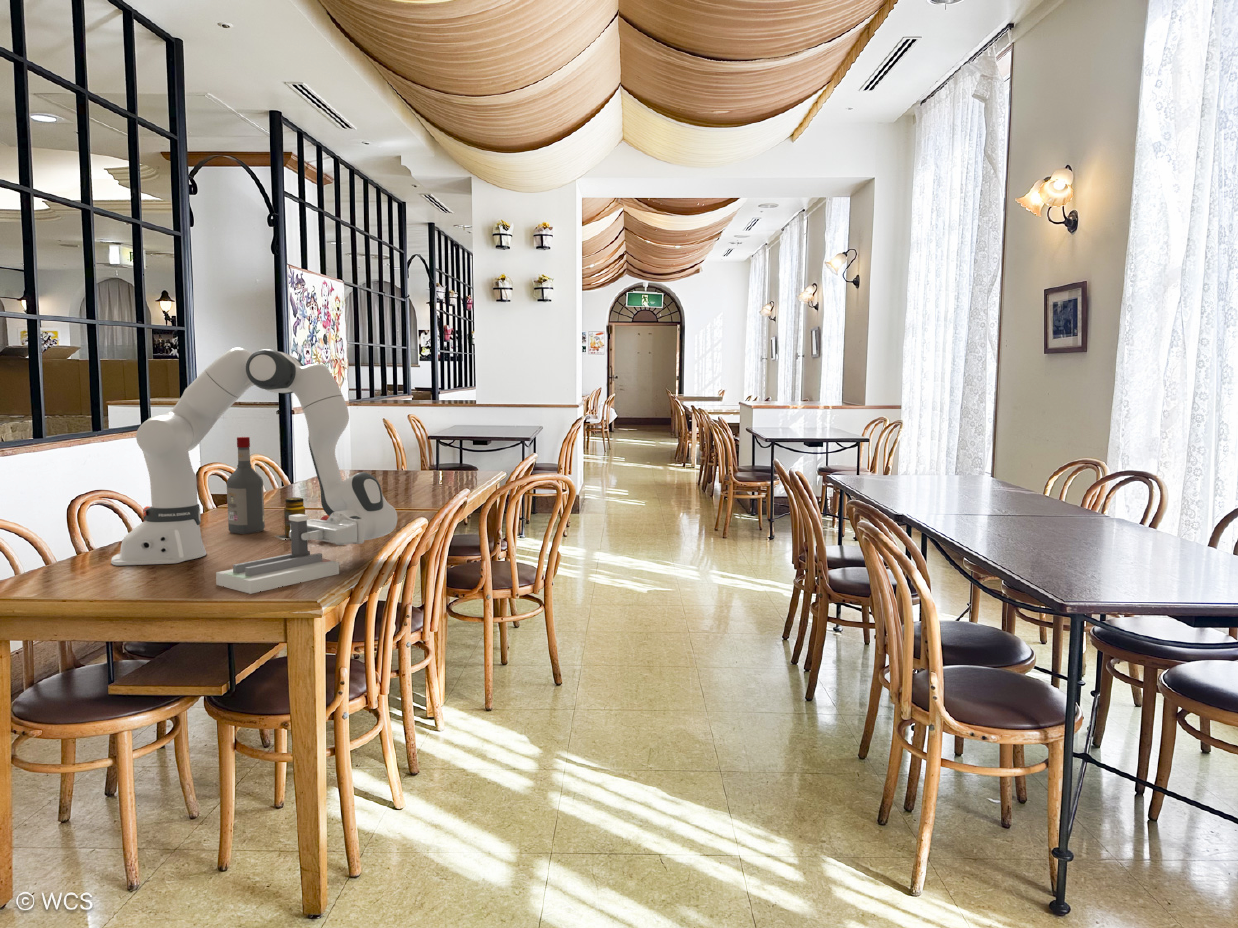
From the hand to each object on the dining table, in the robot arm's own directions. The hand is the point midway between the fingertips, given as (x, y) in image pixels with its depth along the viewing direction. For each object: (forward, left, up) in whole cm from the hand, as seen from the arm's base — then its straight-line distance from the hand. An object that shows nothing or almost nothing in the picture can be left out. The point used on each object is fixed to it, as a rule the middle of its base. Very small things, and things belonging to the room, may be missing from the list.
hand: (296, 535), depth 205 cm
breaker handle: (+1, 0, -7) cm, 7 cm away
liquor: (-12, +68, -10) cm, 70 cm away
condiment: (+1, +53, -10) cm, 54 cm away
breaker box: (-4, -3, -10) cm, 11 cm away
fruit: (+11, +42, -10) cm, 45 cm away
